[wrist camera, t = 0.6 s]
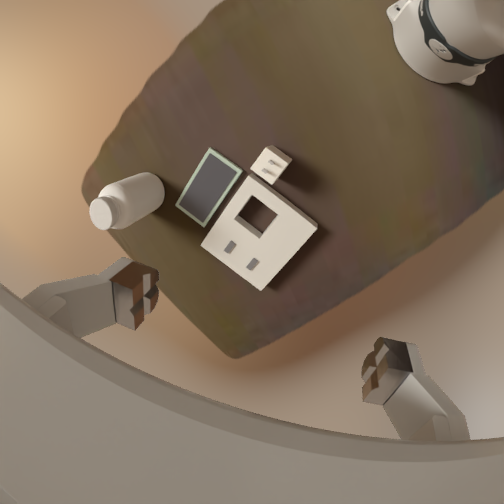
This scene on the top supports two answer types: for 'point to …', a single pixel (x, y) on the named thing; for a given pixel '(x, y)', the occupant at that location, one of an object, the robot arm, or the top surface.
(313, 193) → the top surface
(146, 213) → the pill bottle
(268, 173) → the charger
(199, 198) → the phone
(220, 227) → the outlet plate
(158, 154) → the top surface
